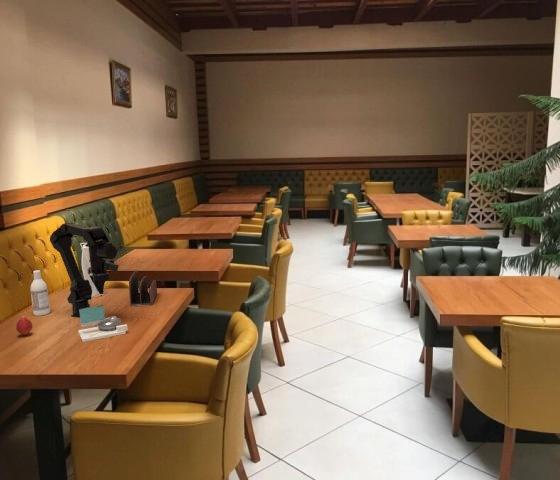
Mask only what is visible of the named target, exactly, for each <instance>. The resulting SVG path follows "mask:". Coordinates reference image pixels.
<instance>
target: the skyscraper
mask: <svg viewBox="0 0 560 480" xmlns="http://www.w3.org/2000/svg"><path fill="white" fill-rule="evenodd" d="M87 243H88V242H81V243H79V245H80V248H81V270H82V275H83V279H85V280H89V283H90V285H91V287H92V297H93V296H96V295H99V294H100V293H99V292H98V291H97V289H96V287H95V285H94V284H93V282H92V280H91V278H90V275H91V273H90V274H88V270H87V269H88V268H89V267H90V262H89V259H90V257H89V247H86V246H85V245H86V244H87ZM103 294H105V288H104V289H103Z"/></svg>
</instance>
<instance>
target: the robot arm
mask: <svg viewBox="0 0 560 480" xmlns="http://www.w3.org/2000/svg"><path fill="white" fill-rule="evenodd" d="M74 236H78V237H81V238H82V239H83V240H84V241H86V243H87V244H86V245H85V244H84V245H85V246H86V247H89V257H90V259H89V262H90V267H89V268H88V269H87V270H88V274H90V273H91V275H90V278H91V280H92V282H93V284H94V285H95V287H96V289H97V291H98V292H99V293H100V294H103V289H104V290H105V283H106V282H107V281H108V280H111V275H110V273H109V272H110V271H111V272H114V273H118V270H119V266H120V265H119V264H118V263H115V260H114V259H115V258H116V257H117V255H118V250H117V248H116V246H114V245H113V242H111V241H110V239H109V236H107V234H106V232H105V230H104V229H103V228H102V227H101V226H93V227H87V226H85V225H80V224H76V223H73V222H64V223H62V224H61V225H60V226H59V227H58V228H57V229H55V230H54V231H53V232H52V233H51V235H50V236H49V241H50V242H49V243H50V244H51V246H52V247H53V249H54V250H55V251H57V252H58V253H59V255H60V257H61V260H62V262H63V265H64V267H65V269H66V272H67V274H68V277H69V281H70V286H69V287H70V288H69V290H70V294H69V295H68V297H67V303H68V304H71V308H72V314H71V315H70V316H71V317H76V318H77V317H78V318H80V312H79V309H83V308H89V307H91V306H90V303H89V301H91V300H92V298H91V297H92V287H91V285H90V283H89V280H85V279H84V277H83V276H82V273H81V271H80V268H79V266H78V263H77V261H76V258H75V256H74V253H73V251H72V244H73V240H72V239H73V237H74ZM106 260H108V261H106ZM108 271H109V272H108Z"/></svg>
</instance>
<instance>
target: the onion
mask: <svg viewBox="0 0 560 480" xmlns="http://www.w3.org/2000/svg"><path fill="white" fill-rule="evenodd" d="M15 327H16V331H17V332H18V333H19V334H20V335H23V336H27V335H28V334H29V333H30V332H31V331H32V330H33V322H32V321H31V320H30V319H29V318H27V317H26V316H25V315H23V316H22V317H21V318H20V319H19V320H18V321H17V323H16V325H15Z"/></svg>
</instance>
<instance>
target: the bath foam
mask: <svg viewBox="0 0 560 480" xmlns="http://www.w3.org/2000/svg"><path fill="white" fill-rule="evenodd" d="M48 291H49V290H48V285H47V283H46V281H44V279H43V278H42V273H41V270H39V269H38V270H33V281H32V282H31V283H30V297H31V298H30V299H31V304H32V313H33V315H34V316H36V317H38V316H45V315H46V316H47V315H49V314H50V312H51V309H50V308H51V306H50V298H49V292H48Z"/></svg>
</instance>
